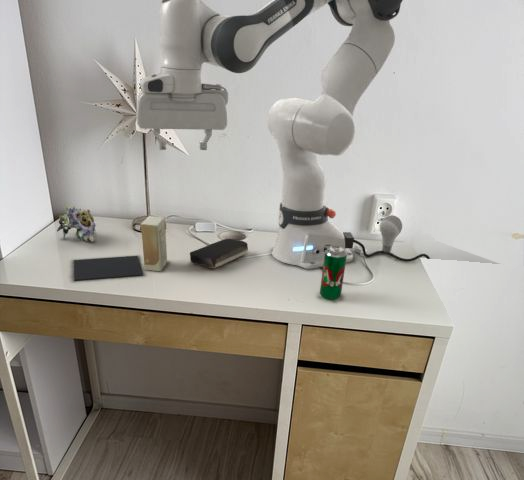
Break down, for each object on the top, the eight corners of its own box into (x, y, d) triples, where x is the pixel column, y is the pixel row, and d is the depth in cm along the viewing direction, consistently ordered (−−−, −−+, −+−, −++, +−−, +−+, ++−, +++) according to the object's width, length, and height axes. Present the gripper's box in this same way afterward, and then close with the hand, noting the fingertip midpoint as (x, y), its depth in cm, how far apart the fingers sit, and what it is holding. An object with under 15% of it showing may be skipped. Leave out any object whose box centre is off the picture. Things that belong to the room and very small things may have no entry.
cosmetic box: (151, 260, 136) (148, 215, 129) (167, 262, 136) (165, 216, 129) (143, 270, 131) (139, 223, 124) (160, 272, 130) (157, 225, 124)
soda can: (338, 291, 126) (345, 245, 119) (342, 301, 122) (349, 253, 115) (318, 291, 126) (324, 244, 119) (320, 300, 121) (326, 252, 115)
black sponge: (211, 273, 131) (211, 260, 129) (187, 264, 135) (186, 250, 133) (250, 255, 142) (251, 242, 140) (227, 247, 146) (227, 234, 144)
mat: (137, 256, 138) (137, 255, 137) (142, 275, 128) (142, 274, 128) (74, 261, 133) (73, 260, 133) (74, 280, 124) (74, 279, 123)
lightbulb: (387, 259, 145) (395, 221, 139) (370, 252, 149) (377, 214, 143) (400, 254, 148) (408, 217, 142) (383, 247, 152) (390, 211, 146)
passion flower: (92, 259, 148) (88, 236, 137) (53, 251, 146) (46, 227, 135) (101, 227, 152) (98, 201, 141) (63, 218, 150) (57, 192, 139)
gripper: (225, 82, 117) (224, 146, 125) (133, 79, 113) (137, 146, 120) (231, 86, 112) (229, 152, 120) (134, 82, 107) (139, 152, 115)
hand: (183, 149), depth 120 cm, fingers open, 8 cm apart
